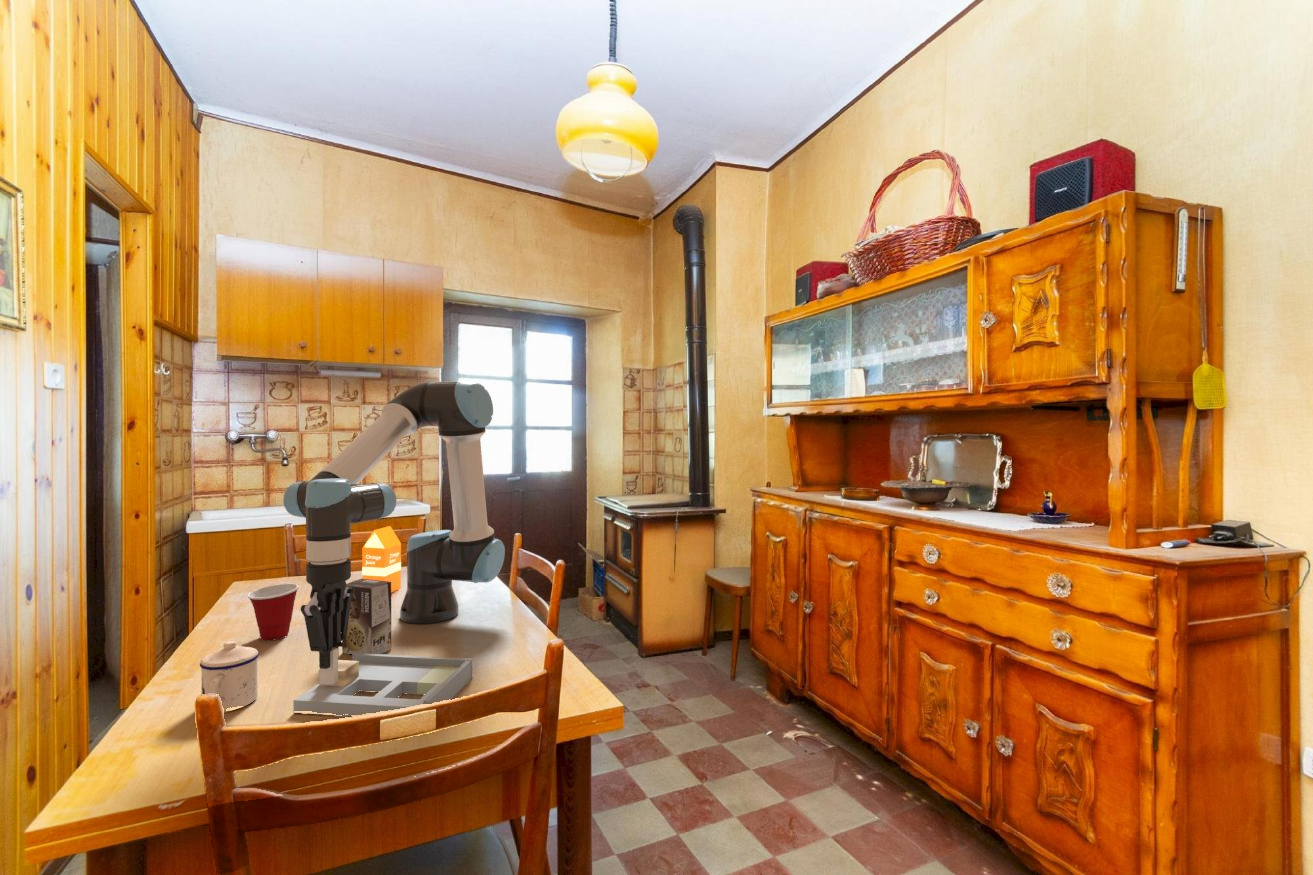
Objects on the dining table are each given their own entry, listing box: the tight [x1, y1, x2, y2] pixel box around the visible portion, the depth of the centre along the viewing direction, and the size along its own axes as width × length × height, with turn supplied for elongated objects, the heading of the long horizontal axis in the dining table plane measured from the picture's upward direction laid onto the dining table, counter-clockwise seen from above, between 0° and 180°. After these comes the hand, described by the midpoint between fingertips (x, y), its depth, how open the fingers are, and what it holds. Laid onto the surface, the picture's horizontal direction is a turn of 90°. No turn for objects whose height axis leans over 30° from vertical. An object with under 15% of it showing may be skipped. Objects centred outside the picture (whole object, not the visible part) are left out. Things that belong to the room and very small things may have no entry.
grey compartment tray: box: [292, 653, 474, 718], centre depth 118 cm, size 20×26×4 cm
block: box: [318, 659, 359, 687], centre depth 119 cm, size 5×5×3 cm
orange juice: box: [361, 525, 402, 593], centre depth 190 cm, size 8×9×20 cm
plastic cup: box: [246, 582, 299, 641], centre depth 149 cm, size 11×11×12 cm
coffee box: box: [341, 578, 392, 656], centre depth 140 cm, size 9×6×16 cm
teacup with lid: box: [199, 640, 260, 714], centre depth 112 cm, size 12×9×12 cm
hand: (329, 682), depth 115 cm, fingers closed
